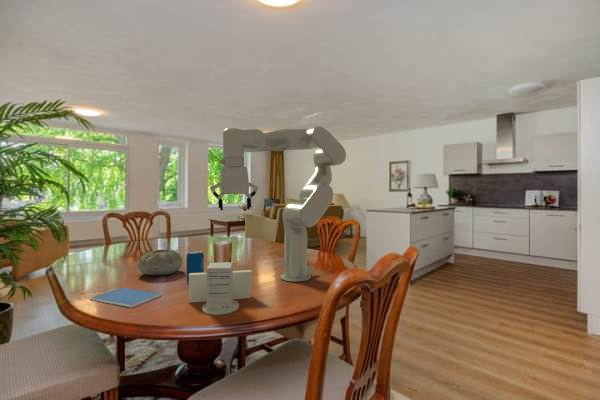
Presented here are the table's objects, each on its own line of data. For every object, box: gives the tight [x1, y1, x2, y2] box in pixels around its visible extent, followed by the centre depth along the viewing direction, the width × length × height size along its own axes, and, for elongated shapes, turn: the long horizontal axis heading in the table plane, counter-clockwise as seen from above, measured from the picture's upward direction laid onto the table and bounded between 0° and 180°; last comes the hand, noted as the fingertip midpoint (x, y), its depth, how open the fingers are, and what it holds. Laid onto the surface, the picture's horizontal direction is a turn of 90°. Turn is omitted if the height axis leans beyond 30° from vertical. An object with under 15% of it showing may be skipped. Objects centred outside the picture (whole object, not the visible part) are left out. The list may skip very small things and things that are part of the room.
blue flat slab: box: [89, 287, 163, 309], centre depth 104 cm, size 19×13×1 cm, turn 69°
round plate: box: [201, 299, 240, 316], centre depth 96 cm, size 11×11×1 cm
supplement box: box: [205, 261, 234, 310], centre depth 95 cm, size 7×7×13 cm
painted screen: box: [188, 269, 252, 304], centre depth 103 cm, size 20×2×9 cm, turn 104°
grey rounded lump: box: [136, 248, 183, 276], centre depth 134 cm, size 18×18×10 cm
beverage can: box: [185, 250, 205, 284], centre depth 122 cm, size 6×6×12 cm
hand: (235, 209), depth 114 cm, fingers open, 9 cm apart
